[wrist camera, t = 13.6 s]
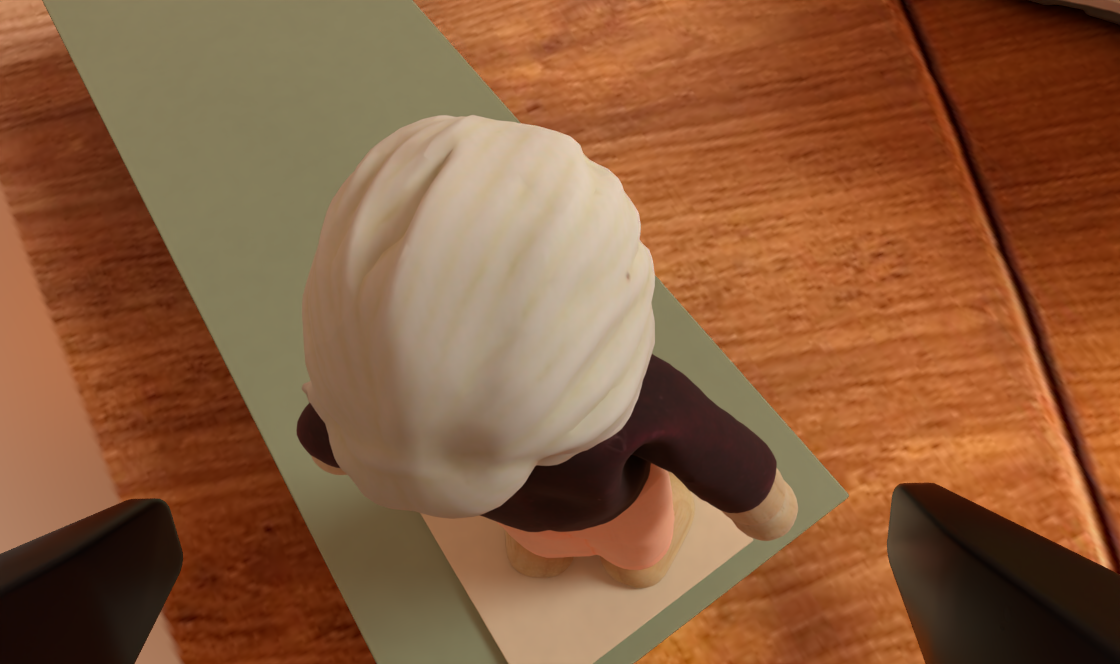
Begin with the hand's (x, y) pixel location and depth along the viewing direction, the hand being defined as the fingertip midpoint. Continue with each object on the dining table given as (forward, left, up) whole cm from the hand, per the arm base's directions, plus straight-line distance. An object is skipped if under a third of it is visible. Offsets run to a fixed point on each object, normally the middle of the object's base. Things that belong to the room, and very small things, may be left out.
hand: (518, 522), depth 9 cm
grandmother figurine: (+1, +1, -8) cm, 8 cm away
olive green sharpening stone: (+4, +13, -12) cm, 18 cm away
